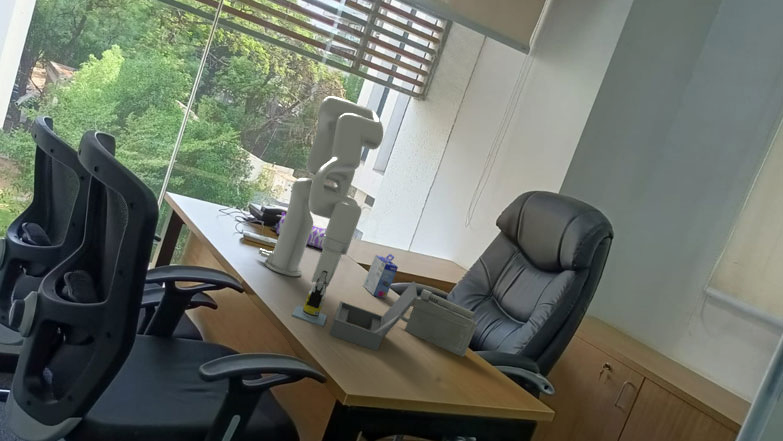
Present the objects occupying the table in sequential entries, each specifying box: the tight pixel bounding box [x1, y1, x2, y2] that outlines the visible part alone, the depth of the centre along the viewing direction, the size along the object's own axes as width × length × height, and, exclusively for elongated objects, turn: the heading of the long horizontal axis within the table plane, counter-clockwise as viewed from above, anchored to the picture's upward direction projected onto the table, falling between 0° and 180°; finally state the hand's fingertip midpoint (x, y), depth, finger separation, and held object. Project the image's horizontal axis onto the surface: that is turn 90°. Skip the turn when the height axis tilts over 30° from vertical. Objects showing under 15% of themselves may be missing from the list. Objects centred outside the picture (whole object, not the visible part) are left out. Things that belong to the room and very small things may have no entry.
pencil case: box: [274, 211, 326, 251], centre depth 270 cm, size 22×9×10 cm, turn 89°
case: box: [329, 281, 418, 352], centre depth 186 cm, size 19×18×17 cm
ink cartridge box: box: [362, 253, 398, 300], centre depth 235 cm, size 10×6×14 cm, turn 26°
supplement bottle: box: [302, 283, 327, 318], centre depth 186 cm, size 5×5×8 cm
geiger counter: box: [401, 288, 478, 358], centre depth 204 cm, size 14×6×25 cm
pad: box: [291, 304, 327, 327], centre depth 187 cm, size 9×9×1 cm
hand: (314, 301), depth 186 cm, fingers open, 9 cm apart
